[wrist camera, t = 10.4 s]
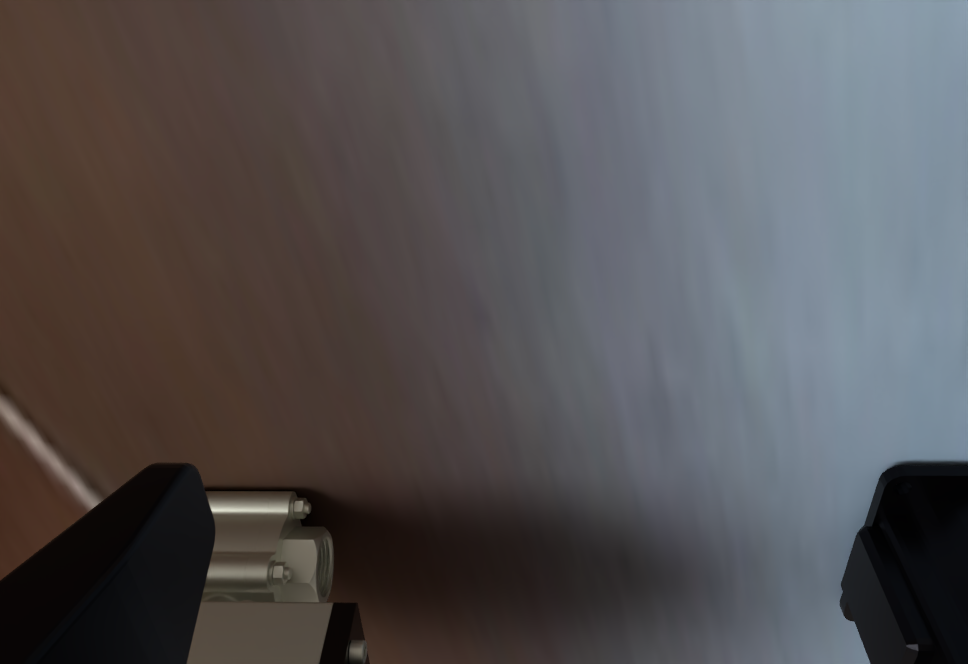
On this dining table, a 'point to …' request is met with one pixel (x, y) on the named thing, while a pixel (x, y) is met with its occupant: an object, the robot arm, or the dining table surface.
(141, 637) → the robot arm
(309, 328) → the dining table surface
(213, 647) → the pneumatic valve
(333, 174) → the dining table surface
